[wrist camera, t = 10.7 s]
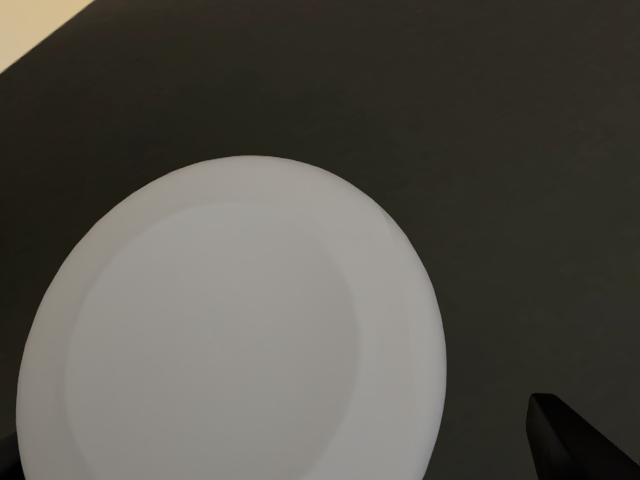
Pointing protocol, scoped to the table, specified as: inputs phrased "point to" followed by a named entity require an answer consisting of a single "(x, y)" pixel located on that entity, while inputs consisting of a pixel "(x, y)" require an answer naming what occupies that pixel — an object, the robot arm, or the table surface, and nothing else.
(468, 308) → the table surface
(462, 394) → the table surface
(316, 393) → the spice jar
